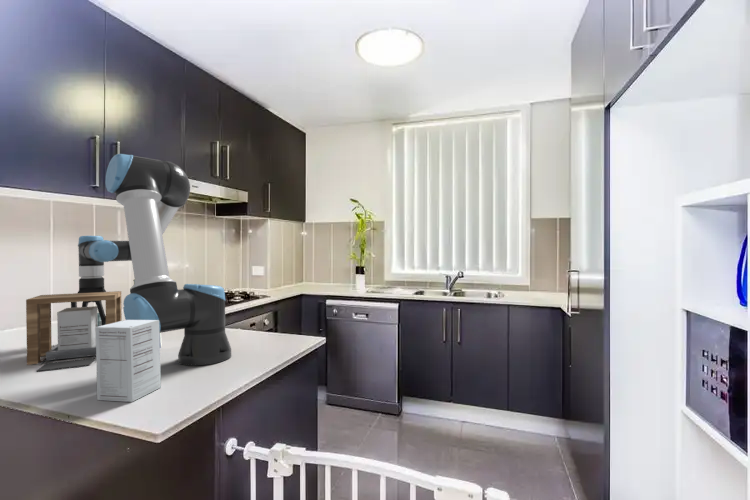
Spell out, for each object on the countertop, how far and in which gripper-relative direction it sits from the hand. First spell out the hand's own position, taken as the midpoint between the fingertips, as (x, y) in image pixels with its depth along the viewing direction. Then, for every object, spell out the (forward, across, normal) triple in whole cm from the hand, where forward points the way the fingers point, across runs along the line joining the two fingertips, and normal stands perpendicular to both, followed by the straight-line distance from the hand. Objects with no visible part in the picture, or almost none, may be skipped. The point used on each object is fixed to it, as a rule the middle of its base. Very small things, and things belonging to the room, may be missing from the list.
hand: (92, 339), depth 140 cm
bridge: (+1, 0, +19) cm, 19 cm away
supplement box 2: (+1, -20, +66) cm, 69 cm away
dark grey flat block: (+1, 0, +31) cm, 31 cm away
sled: (0, 0, +11) cm, 11 cm away
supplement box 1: (+1, 0, +19) cm, 19 cm away
